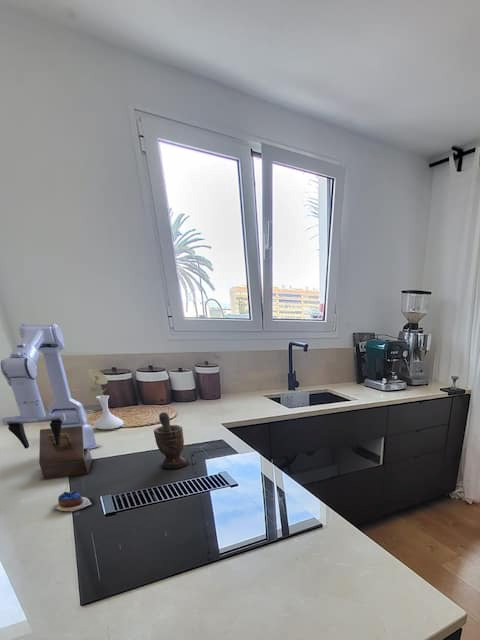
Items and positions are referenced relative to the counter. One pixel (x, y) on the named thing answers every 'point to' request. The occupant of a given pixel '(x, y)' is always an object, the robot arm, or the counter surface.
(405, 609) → the counter surface
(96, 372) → the flower in vase
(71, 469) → the storage box
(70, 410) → the robot arm
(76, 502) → the dessert
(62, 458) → the box lid
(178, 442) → the mortar and pestle
